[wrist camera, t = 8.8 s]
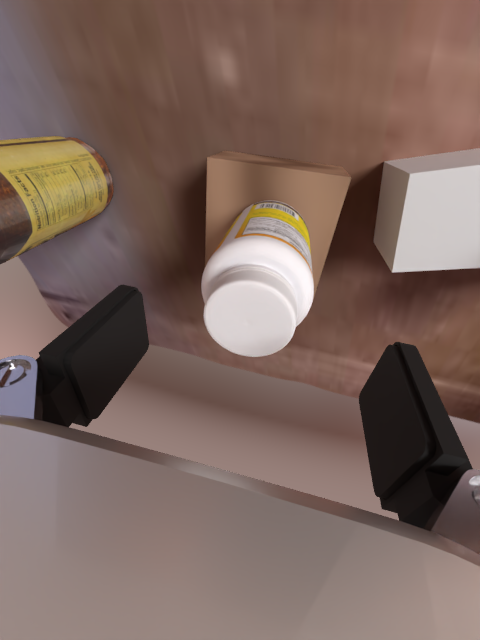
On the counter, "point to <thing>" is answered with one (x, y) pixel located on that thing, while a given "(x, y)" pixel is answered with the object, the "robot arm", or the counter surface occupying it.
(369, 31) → the counter surface
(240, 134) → the counter surface
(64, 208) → the sauce bottle
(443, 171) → the white cube
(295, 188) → the brown square block
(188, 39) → the counter surface
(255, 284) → the supplement bottle
